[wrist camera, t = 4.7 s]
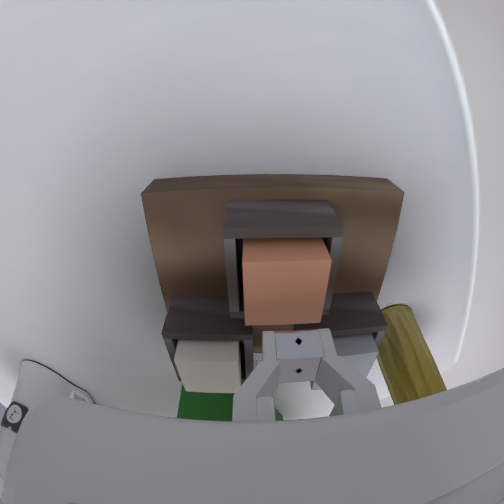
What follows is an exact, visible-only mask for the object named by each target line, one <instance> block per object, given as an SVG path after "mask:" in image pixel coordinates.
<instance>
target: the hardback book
mask: <svg viewBox="0 0 504 504" xmlns="http://www.w3.org/2000/svg"><path fill="white" fill-rule="evenodd" d="M242 384H243V383H241V386H242ZM234 395H235V393H206V392H188V391H186V390H185V388H184V385H183V384H182V390H181V396H180V402H179V409H178V415H177V418H181V419H192V420H207V421H232V415H233V396H234ZM275 421H283V417H282V415H281V414H280V413H279V412H278V410H277V409H276V408H275Z"/></svg>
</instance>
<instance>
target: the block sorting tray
mask: <svg viewBox="0 0 504 504" xmlns="http://www.w3.org/2000/svg"><path fill="white" fill-rule="evenodd" d="M141 196H142V202H143V207H144V213H145V218H146V223H147V228H148V233H149V238H150V243H151V247H152V252H153V256H154V261H155V265H156V269H157V273H158V278H159V282H160V286H161V289H162V293H163V297H164V301H165V305H166V308H167V312H168V313H167V316H166V320H165V323H164V326H163V330H162V336H163V338H164V341H165V344H166V347H167V350H168V353H169V355H170V358H171V361H172V363H173V366H174V369H175V371H176V374H177V376H178V379H179V381H182V380H181V378H180V375H179V372H178V370H177V367H176V364H175V362H174V357H175V352H176V348H177V344H178V339H187V340H240V349H241V383H244V382H245V380H246V379H247V378H248V377H249V375H250V374H251V373H252V371H253V353H262V336H263V331H296V330H309V329H325V328H329V329H330V331H331V335H332V336H342V335H353V334H362V333H372V335H373V338H374V340H375V343H376V346H377V348H378V347H379V345H380V343H381V340H382V338H383V336H384V333H385V331H386V329H387V326H388V324H387V322H386V320H385V318H384V316H383V314H382V312H381V310H380V308H379V305H378V303H377V298H378V295H379V292H380V289H381V286H382V282H383V279H384V276H385V272H386V269H387V265H388V261H389V258H390V254H391V250H392V246H393V242H394V238H395V234H396V230H397V225H398V221H399V216H400V211H401V206H402V201H403V196H404V192H403V191H402V190H401V189H399V188H398V187H397V186H396V185H394V184H393V183H392V182H390V181H389V180H388V179H382V178H369V177H353V176H332V175H294V174H257V175H219V176H198V177H182V178H168V179H155V180H153V181H152V183H151V184H150V185H149V186H148V187H147V188H146V189H145V190H144V191H143V192H142V193H141ZM321 237H322V239H323V241H324V243H325V246H326V248H327V250H328V253H329V255H330V257H331V260H332V262H331V268H330V274H329V280H328V286H327V291H326V297H325V302H324V307H323V312H322V317H321V322H320V323H308V324H286V325H247V326H245V311H244V289H243V265H242V259H243V239H246V238H321Z"/></svg>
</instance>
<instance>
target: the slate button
mask: <svg viewBox="0 0 504 504" xmlns="http://www.w3.org/2000/svg"><path fill="white" fill-rule="evenodd" d="M332 338H333V342H334V346H335V349H336V353H337V356H341V357H342V358H343V359H345V360H346V361H347V362H348V363H349V364H350V365H352V366H353V367H354V368H355V369H356V370H357V371H358V372H360V373H361V374H362V375H363V376H364V377H365V378H366V377H367V375H368V373H369V371H370V369H371V367H372V365H373V363H374V361H375V359H376V357H377V355H378V353H379V351H378V348H377V346H376V343H375V340H374V338H373V335H372V333H362V334H353V335H342V336H332ZM310 383H311V389H312V390H318V389H321V388H320V387H319V386H318V384H317V383H316V382H315V381H310Z"/></svg>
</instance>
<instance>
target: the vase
mask: <svg viewBox="0 0 504 504" xmlns="http://www.w3.org/2000/svg"><path fill="white" fill-rule="evenodd" d="M381 312H382V314H383V316H384V318H385V320H386V322H387V324H388V326H387V329H386V331H385V333H384V336H383V338H382V340H381V343H380V345H379V347H378V351H379V353H378V355H377V357H376V358H377V360H378V363H379V366H380V369H381V371H382V374H383V376H384V379H385V382H386V384H387V387H388V390H389V392H390V395H391V397H392V400H393V402H394V405H396V404H401V403H405V402H409V401H413V400H416V399H420V398H424V397H427V396H430V395H434V394H437V393H440V392H443V391H446V390H447V389H446V387H445V385H444V382H443V379H442V377H441V375H440V373H439V370H438V368H437V366H436V363H435V361H434V359H433V357H432V354H431V352H430V350H429V348H428V346H427V344H426V342H425V340H424V337H423V335H422V333H421V331H420V328H419V326H418V324H417V322H416V320H415V318H414V316H413V312H412V310H411V309H410V308H409V307H407V306H404V305H396V306H391V307H389V308H386V309H384V310H382V311H381Z"/></svg>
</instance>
